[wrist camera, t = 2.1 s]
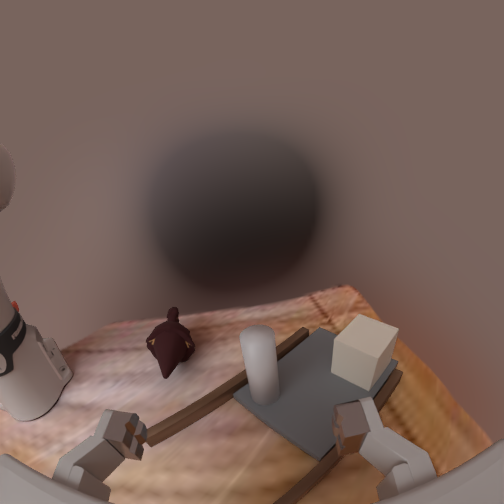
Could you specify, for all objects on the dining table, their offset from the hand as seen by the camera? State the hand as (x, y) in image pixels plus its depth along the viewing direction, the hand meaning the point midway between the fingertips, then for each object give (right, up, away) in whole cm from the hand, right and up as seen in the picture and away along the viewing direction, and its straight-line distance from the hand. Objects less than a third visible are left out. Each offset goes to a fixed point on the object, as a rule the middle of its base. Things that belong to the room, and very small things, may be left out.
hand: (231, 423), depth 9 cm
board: (+10, -11, +22) cm, 26 cm away
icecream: (-11, -10, +30) cm, 33 cm away
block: (+15, -8, +22) cm, 28 cm away
